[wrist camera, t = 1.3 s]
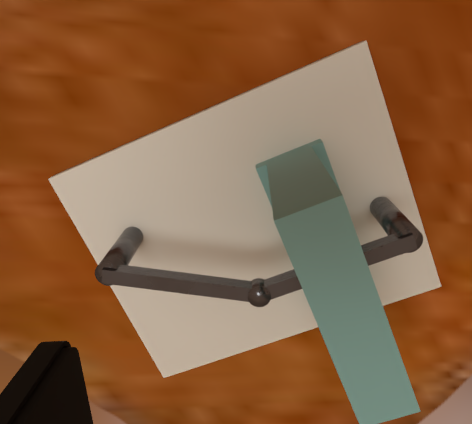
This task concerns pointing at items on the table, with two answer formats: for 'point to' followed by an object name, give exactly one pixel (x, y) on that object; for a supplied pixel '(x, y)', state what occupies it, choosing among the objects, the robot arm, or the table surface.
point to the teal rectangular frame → (337, 281)
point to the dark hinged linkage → (258, 290)
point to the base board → (243, 206)
